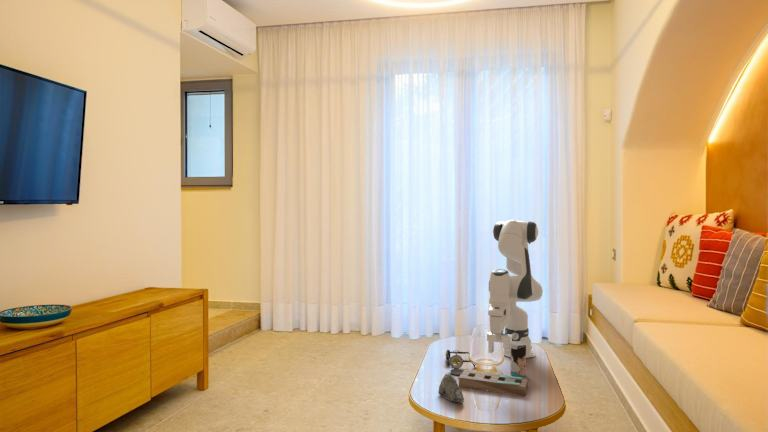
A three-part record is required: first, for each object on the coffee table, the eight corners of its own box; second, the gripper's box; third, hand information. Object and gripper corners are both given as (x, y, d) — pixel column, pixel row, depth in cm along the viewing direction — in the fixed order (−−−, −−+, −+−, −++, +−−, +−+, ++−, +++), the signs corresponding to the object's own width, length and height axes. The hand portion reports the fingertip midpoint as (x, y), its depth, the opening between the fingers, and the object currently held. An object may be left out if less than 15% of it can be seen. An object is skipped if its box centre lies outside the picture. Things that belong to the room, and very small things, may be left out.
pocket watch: (457, 376, 227) (457, 355, 227) (444, 371, 234) (444, 350, 233) (470, 373, 232) (470, 352, 231) (457, 368, 239) (457, 347, 238)
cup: (518, 379, 224) (519, 346, 224) (507, 374, 230) (507, 342, 229) (528, 376, 228) (529, 343, 227) (517, 371, 234) (517, 340, 233)
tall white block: (488, 350, 216) (488, 332, 216) (511, 353, 212) (511, 334, 212) (486, 352, 214) (487, 333, 213) (510, 355, 210) (510, 336, 209)
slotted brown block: (464, 378, 224) (464, 369, 224) (528, 387, 214) (528, 378, 213) (458, 386, 215) (458, 376, 215) (525, 396, 204) (525, 386, 204)
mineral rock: (463, 407, 194) (464, 382, 193) (436, 405, 196) (436, 380, 195) (464, 394, 206) (464, 371, 206) (438, 393, 208) (438, 369, 208)
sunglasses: (476, 368, 239) (476, 358, 239) (445, 367, 241) (445, 356, 241) (476, 359, 253) (476, 349, 253) (446, 358, 255) (446, 348, 255)
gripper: (496, 302, 223) (496, 332, 224) (487, 312, 204) (487, 345, 205) (511, 303, 221) (510, 334, 221) (502, 313, 202) (502, 347, 202)
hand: (499, 339), depth 213 cm, fingers closed on tall white block, 3 cm apart
